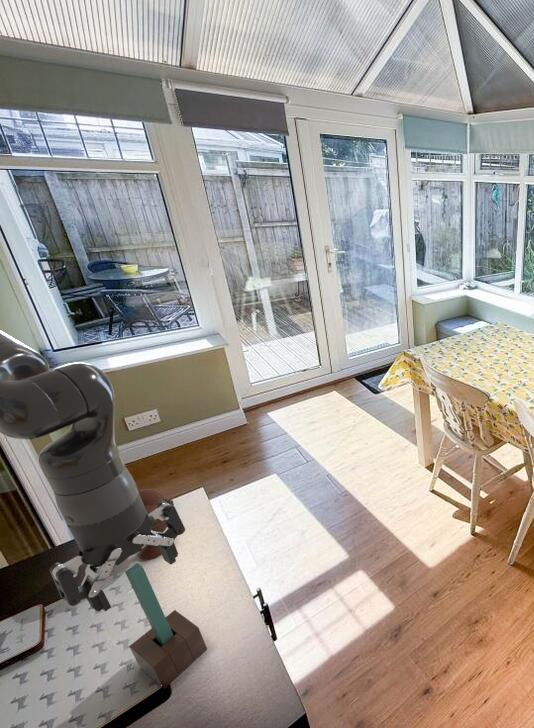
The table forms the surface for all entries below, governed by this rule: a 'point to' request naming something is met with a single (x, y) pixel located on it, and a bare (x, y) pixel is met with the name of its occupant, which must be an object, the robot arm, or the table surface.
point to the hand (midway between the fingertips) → (139, 583)
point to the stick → (149, 603)
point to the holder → (169, 650)
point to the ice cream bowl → (150, 503)
